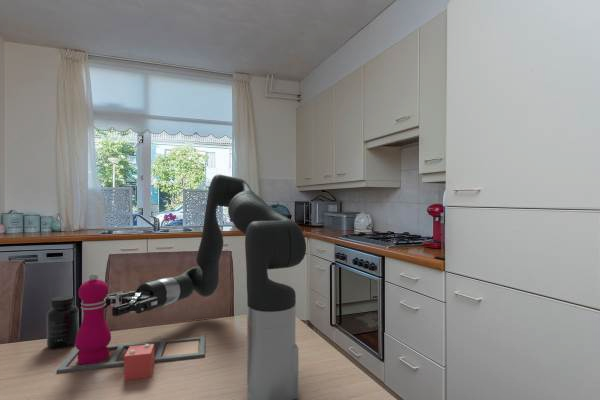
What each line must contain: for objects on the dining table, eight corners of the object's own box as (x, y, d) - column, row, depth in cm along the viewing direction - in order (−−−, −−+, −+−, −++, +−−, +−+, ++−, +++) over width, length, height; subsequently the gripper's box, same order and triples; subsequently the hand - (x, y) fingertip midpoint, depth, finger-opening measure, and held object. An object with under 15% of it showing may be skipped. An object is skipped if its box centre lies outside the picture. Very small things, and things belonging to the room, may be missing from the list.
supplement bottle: (52, 340, 91) (52, 295, 91) (82, 337, 93) (82, 293, 93) (41, 351, 85) (41, 302, 85) (74, 347, 87) (74, 300, 87)
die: (154, 366, 77) (154, 341, 77) (150, 377, 72) (150, 350, 72) (129, 368, 76) (129, 343, 76) (124, 380, 71) (124, 353, 71)
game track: (204, 338, 92) (204, 336, 92) (204, 356, 82) (204, 354, 82) (75, 351, 85) (75, 348, 85) (56, 372, 74) (56, 370, 74)
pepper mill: (94, 367, 77) (94, 277, 77) (67, 364, 78) (67, 275, 78) (118, 353, 84) (118, 270, 84) (92, 350, 85) (92, 269, 85)
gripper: (142, 277, 100) (85, 289, 86) (176, 282, 93) (121, 297, 79) (142, 303, 100) (84, 320, 86) (176, 310, 93) (120, 330, 79)
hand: (102, 309), depth 83 cm, fingers open, 8 cm apart
